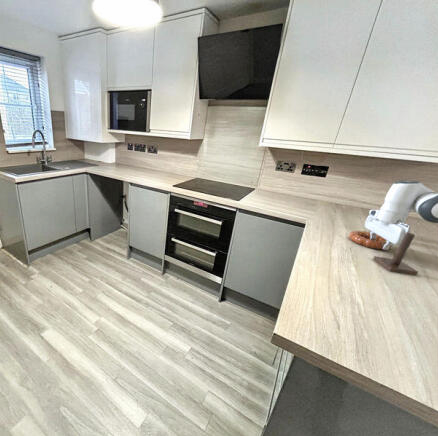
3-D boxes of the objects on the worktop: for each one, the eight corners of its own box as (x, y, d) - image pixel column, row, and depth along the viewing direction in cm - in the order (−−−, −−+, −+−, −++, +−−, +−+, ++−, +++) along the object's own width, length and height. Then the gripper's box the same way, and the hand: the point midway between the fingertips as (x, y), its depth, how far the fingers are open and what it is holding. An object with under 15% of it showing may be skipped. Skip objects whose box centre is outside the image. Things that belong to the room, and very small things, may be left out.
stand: (397, 262, 97) (413, 230, 91) (416, 275, 88) (435, 240, 83) (372, 259, 98) (387, 227, 93) (389, 271, 90) (406, 237, 84)
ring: (374, 238, 120) (377, 232, 118) (398, 252, 106) (402, 245, 104) (341, 234, 122) (344, 228, 120) (360, 248, 108) (363, 241, 106)
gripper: (420, 226, 93) (404, 257, 98) (382, 210, 111) (370, 236, 116) (402, 224, 94) (387, 255, 99) (367, 209, 112) (356, 235, 117)
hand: (378, 245), depth 108 cm, fingers open, 6 cm apart
